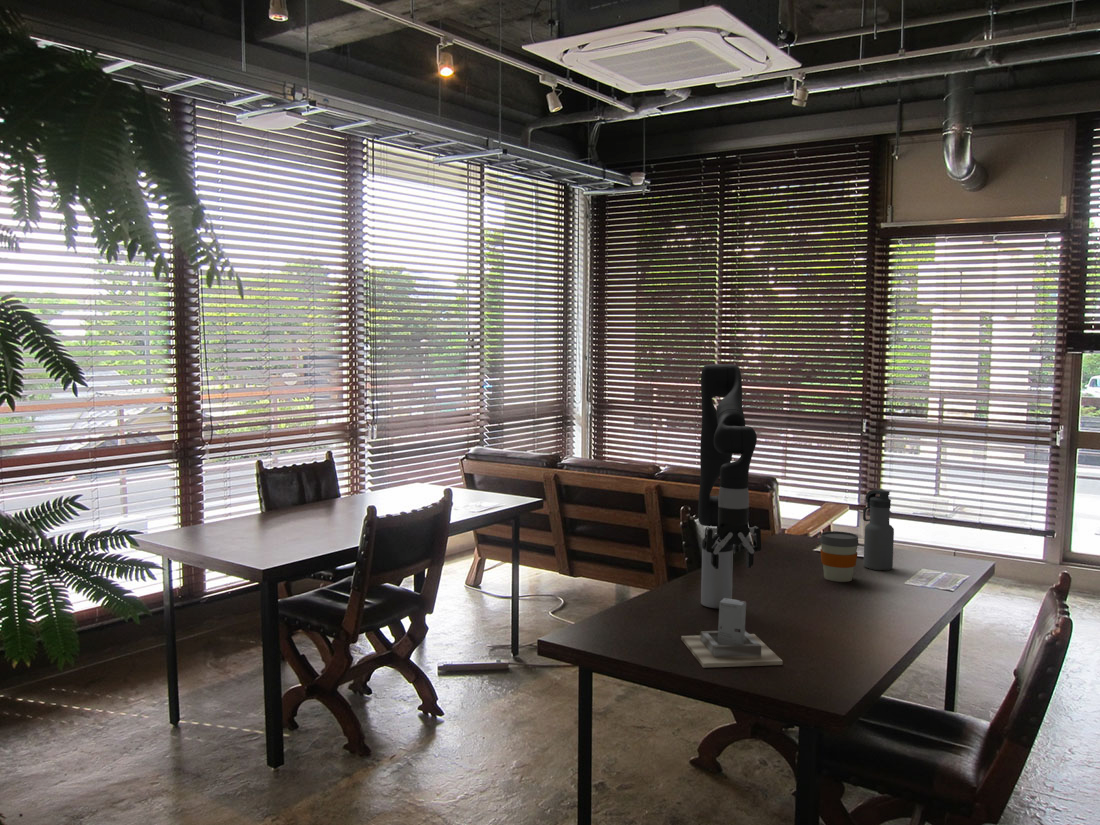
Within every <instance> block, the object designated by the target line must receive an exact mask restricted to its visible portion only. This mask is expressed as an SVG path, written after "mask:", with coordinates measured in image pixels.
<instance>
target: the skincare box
mask: <svg viewBox="0 0 1100 825" xmlns="http://www.w3.org/2000/svg"><path fill="white" fill-rule="evenodd" d="M746 612H747V601H744V600H739V599H734V598H732V599H727V598H724V599H722V600H721V601H720V603H719V608H718V626H717V631H718V643H717V644H718V645H734V644H744V637H745V631H746V618H747V616H746V615H747V613H746Z"/></svg>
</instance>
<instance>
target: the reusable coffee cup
mask: <svg viewBox="0 0 1100 825" xmlns="http://www.w3.org/2000/svg"><path fill="white" fill-rule="evenodd" d="M819 543H820V561H821V564H822V568H823V578H824V579H826V580H828V581H831V582H837V583H844V582H845V583H846V582H850V581H852V580H853V575H854V570H855V566H856V564H857V558H858V547H859V545H860V544H859V536H858V535H857V534H855V533H851V532H847V531H836V530H835V531H833V530H830V531H823V532H820V538H819Z"/></svg>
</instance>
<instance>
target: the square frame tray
mask: <svg viewBox="0 0 1100 825" xmlns="http://www.w3.org/2000/svg"><path fill="white" fill-rule="evenodd" d="M681 641H682V642H683V644H684V645H685V646H686V647H687V649H688V650H689V651H690V653H691V654H692V655H693V656H694V658H695V659H696V660H697V662H698V663H699V665H700V666H701V667H702V668H705V669H706V668H725V667H727V668H728V667H729V668H731V667H734V668H735V667H760V666H762V667H763V666H765V667H766V666H782V665H784V664H783V662H784V661H783V660H782V659H781V658H780V657H779V656H778V655H777V654H776V653H775V652H774V651H773V650H772V649H770V648H771V647H768V646H767V644H766V643H764V642H763V641H762V640H761V638H759V637H758V636H757V635H756V634H755V633H749V632H748V631H747V630H745V637H744V644H734V645H718V644H717V643H718V630H704V631H703V630H701V631H700V634H699V635H681Z"/></svg>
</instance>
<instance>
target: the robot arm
mask: <svg viewBox="0 0 1100 825" xmlns="http://www.w3.org/2000/svg"><path fill="white" fill-rule="evenodd" d="M700 375H701V376H700V391H701V392H700V395H701V426H700V428H701V430H700V432H701V433H700V445H699V446H700V451H699V452H700V454H699V456H700V457H699V458H700V476H699V478H700V480H699V481H700V482H699V492H698V503H697V504H698V505H697V518H698V523H699V524H700V525H701V526H704V527H705V528H704V538H702V542H701V578H700V579H701V586H700V589H701V590H700V605H702V606H704V607H707V608H711V609H719V603H720V601H721V600H722V599H724V598H727V599H733V568H734V567H733V565H734V564H733V562H734V561H733V559H734V558H733V557H734V545H735V546H740V545H741V544H742V546H743V547H744V548H745V550H746V552H745V567H746V568H747V569H751V568H752V566H753V565H754V554H755V553H757V552H760V551H761V550H762V533H761V531H762V530H761V528H760V527H758V526H757V525H754V526H753V527H751V526H750V527H749V516H750V515H749V514H750V513H749V509H750V507H749V506H750V495H749V473H750V472H749V471H750V466H751V461H752V458H753V455H754V452H755V450H756V447H757V441H758V436H757V432H756V431H755V429H754V428H753V427H752V426H747V425H746V419H745V414H744V410H743V379H742V378H743V377H742V373H741V370H740V367H739V366H738V365H736V364H733V363H732V364H731V363H723V364H722V363H721V364H720V363H719V364H718V363H716V364H713V363H711V364H709V363H708V364H705V365H703V366H702V369H701V371H700ZM715 397H719V398H720V397H721V398H722V397H723V398H722V399H721V400H720V401H719V403H718V404H717V407H715V404H714V402H713V398H715ZM733 455H740V457H739V458H738V459H737V460H736V461H732V459H733ZM718 480H719V490H718V495H711V493H712V490H713V488H714V486H715V484H716V482H718ZM749 534H750V535H751V536H752V542H753V544H752V545H751V543H750V542H749V540H748V538H747V537H748V535H749Z"/></svg>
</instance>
